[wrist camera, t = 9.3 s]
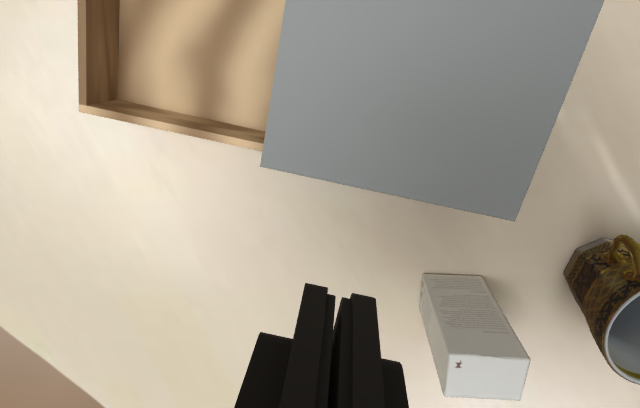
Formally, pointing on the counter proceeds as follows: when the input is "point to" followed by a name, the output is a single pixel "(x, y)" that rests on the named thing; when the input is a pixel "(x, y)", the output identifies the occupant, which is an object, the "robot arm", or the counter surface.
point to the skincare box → (471, 339)
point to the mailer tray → (181, 65)
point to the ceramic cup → (610, 299)
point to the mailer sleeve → (424, 95)
